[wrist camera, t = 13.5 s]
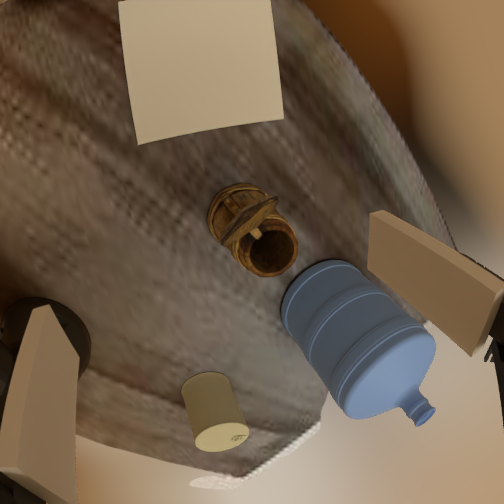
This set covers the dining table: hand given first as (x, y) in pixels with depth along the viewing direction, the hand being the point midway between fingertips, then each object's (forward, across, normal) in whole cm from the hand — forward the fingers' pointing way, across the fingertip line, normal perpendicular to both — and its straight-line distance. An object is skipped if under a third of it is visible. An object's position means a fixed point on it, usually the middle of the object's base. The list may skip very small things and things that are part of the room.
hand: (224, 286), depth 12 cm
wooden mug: (+29, +7, -8) cm, 31 cm away
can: (+29, -3, -40) cm, 50 cm away
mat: (+28, +7, +11) cm, 31 cm away
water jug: (+29, +20, -28) cm, 45 cm away
